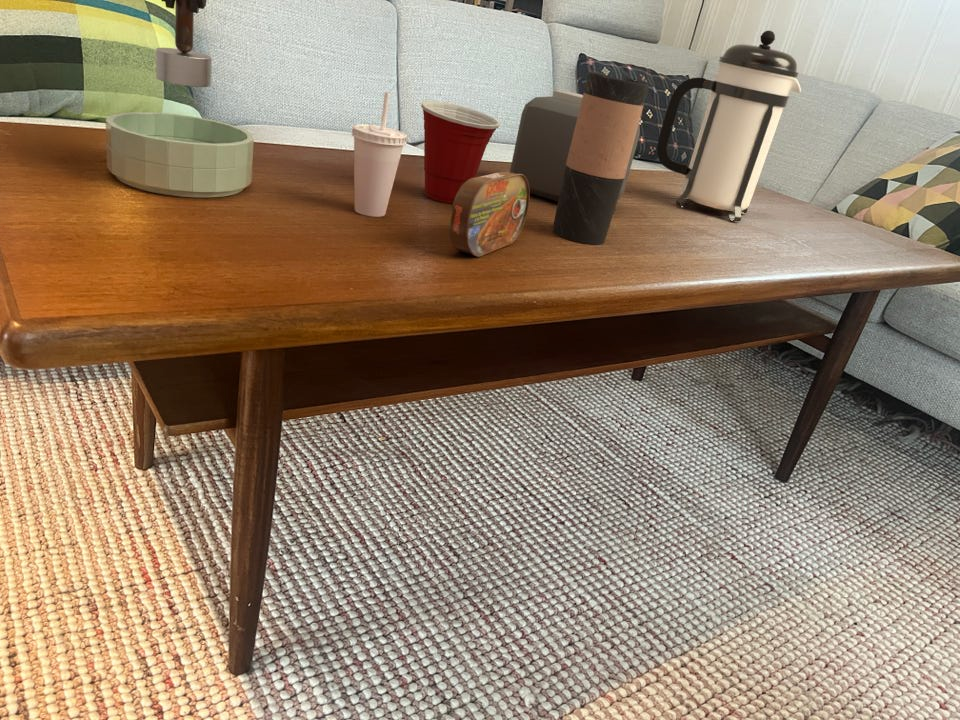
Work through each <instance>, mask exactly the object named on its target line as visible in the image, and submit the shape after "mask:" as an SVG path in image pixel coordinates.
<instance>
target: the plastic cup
mask: <svg viewBox="0 0 960 720" xmlns="http://www.w3.org/2000/svg"><path fill="white" fill-rule="evenodd" d="M420 105H421V107H420V108H421V109H422V114H423V129H424V134H423V135H424V138H423V139H424V140H423V141H424V142H423V144H424V146H423V147H424V148H423V153H424V154H423V170H424V190H425V191H424V192H425V194H424V195H425V196H426V197H427V198H429V199H431V200H433V201H437V202H441V203H446V204H452V205H453V202H454V199H455V197H456V194H457V192H458V191H459V189H460V187H461V186H462V185H463V184H464V183H465V182H466V181H467V180H469V179H471V178H475V177H477V173H478V170H479V167H480V164H481V162H482V160H483V157H484V154H485V152H486V149H487V145H489V142H490V140H491V138H492V136H493V134H494V133H495V131H496V129H499V127H500V126H501V125H500V124H501V122H500V121H499V120H498V119H497V118H495V117H493V116H491V115H488V114H487V113H484V112H483V111H482V112H481V111H479V110H476V109H473V108H470V107H467V106H462V105H459V104H454V103H449V102H445V101H438V100H423V101H422V102H421V104H420Z"/></svg>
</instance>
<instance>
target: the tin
mask: <svg viewBox="0 0 960 720" xmlns="http://www.w3.org/2000/svg"><path fill="white" fill-rule="evenodd" d="M530 195H531V194H530V190H529V184H528V181H527V179H526V177H525V176H524V175H523V174H514V173H510V171H497V172H493V173H490V174H485V175H480V176H475V178H471V179H469V180H467V181H466V182H465V183H464V184H463V185H462V186H461V187H460V189H459V191H458V192H457V194H456V197H455V199H454V202H453V204H452V209H451V210H452V211H451V216H450V227H449V238H450V241H451V244H452V246H453V247H454V248H455V249H456V250H457V251H459V252H462V253H466V254H469V255H472V256H474V257H476V258H481V257H483V256H485V255H488V254H490V253H492V252H493V253H494V252H495V251H498V250H500V249H503V248H505V247H507V246H510V245H512V244H513V243H514V242H516V240H517V239H518V237H519V236H520V234H521V232H522V230H523V228H524V225H525V223H526V220H527V215H528V212H529V208H530V207H529V206H530V197H531V196H530Z"/></svg>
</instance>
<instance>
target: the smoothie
mask: <svg viewBox="0 0 960 720" xmlns="http://www.w3.org/2000/svg"><path fill="white" fill-rule="evenodd" d="M390 97H391V92H389V91H384V97H383V105H382V111H381V112H382V113H381V121H380V125H374V124H363V123H359V124H358V123H357V124H354V125H353V126H352V131H351V133H350V134H351V136H352V137H353V163H354V164H353V166H354V167H353V170H354V171H353V174H354V175H353V177H354V179H353V180H354V182H353V183H354V184H353V185H354V190H353V191H354V212H356V213H357V214H359V215H362V216H366V217H373V218H374V217H375V218H377V217H378V218H381V217H384V216H386V213H387V210H388V205H389V202H390V198H391V194H392V190H393V186H394V182H395V179H396V176H397V171H398V168H399V164H400V160H401V157H402V152H403V149H404V146H406V145H407V140H408V135H407V133H405V132H403V131H401V130H398V129H394V128H391V127H386V126H387V118H388V111H389V103H390Z"/></svg>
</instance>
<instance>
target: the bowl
mask: <svg viewBox="0 0 960 720" xmlns="http://www.w3.org/2000/svg"><path fill="white" fill-rule="evenodd" d="M254 141H255V139H254V135H253V134H252V133H250V132H249V131H248V130H245V128H242V127H239V126H236V125H233V124H230V123H226V122H222V121H219V120H214V119H210V118H209V119H208V118H204V117H198V116H192V115H184V114H176V113H167V112H154V111H130V112H129V111H128V112H117V113H114V114H111V115H108V116H107V117H106V119H105V142H106V143H105V146H106V147H105V148H106V149H105V151H106V152H105V153H106V168H107V169H108V171H109V172H110V173H111V174H112V175H114V176H115V178H116V179H117V180H118V181H120V182H121V183H123V184H125V185H127V186H129V187H132V188H135V189H138V190H141V191H144V192H145V191H146V192H150V193H154V194H160V195H164V196H165V195H166V196H173V197H181V198H182V197H183V198H202V199H203V198H206V199H207V198H208V199H209V198H221V197H228V196H233V195H236V194H239V193H242V192H243V191H244V190H245V188H247V187H248V186H250V185H251V184H252V179H253V160H254V159H253V158H254V143H255V142H254Z"/></svg>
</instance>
